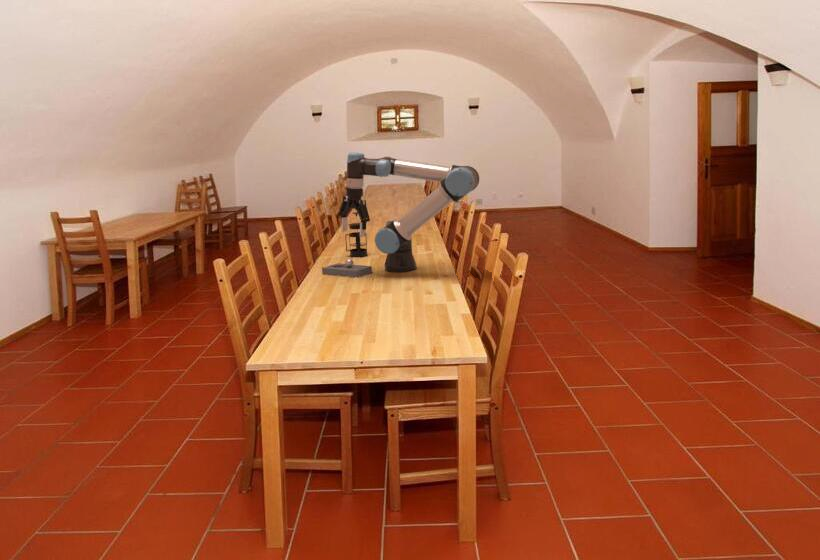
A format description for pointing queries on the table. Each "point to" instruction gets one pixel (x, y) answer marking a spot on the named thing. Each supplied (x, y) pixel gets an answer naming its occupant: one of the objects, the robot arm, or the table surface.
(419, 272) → the table surface
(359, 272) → the plate
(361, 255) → the french press
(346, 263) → the ball
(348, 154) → the robot arm
